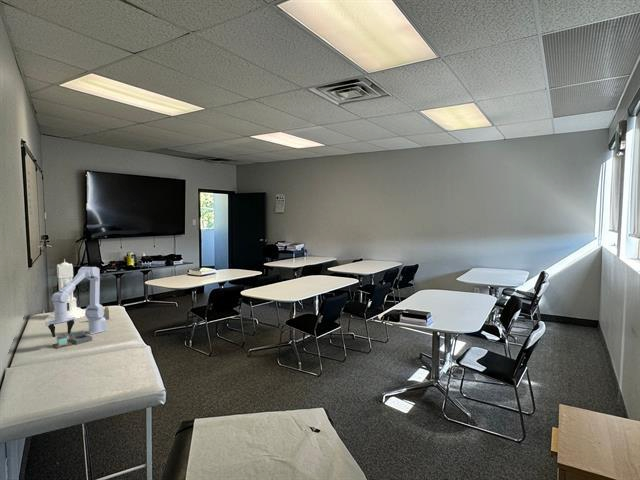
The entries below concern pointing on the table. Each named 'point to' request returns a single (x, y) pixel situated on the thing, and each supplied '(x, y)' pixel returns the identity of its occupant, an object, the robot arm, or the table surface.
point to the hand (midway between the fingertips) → (61, 335)
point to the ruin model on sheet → (106, 313)
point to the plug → (61, 340)
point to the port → (79, 337)
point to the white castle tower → (71, 308)
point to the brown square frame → (62, 345)
